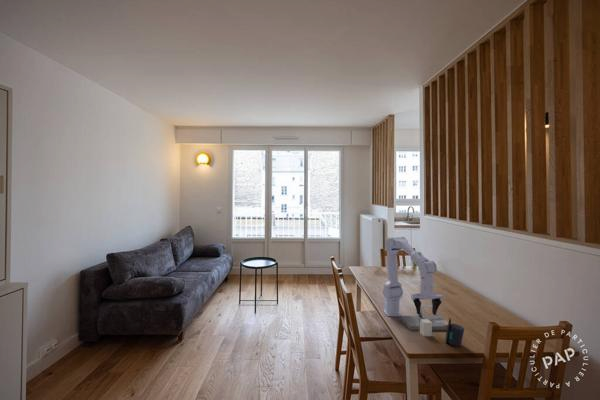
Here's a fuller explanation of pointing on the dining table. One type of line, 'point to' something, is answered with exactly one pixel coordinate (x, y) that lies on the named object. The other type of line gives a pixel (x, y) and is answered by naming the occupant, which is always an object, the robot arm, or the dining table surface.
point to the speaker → (454, 334)
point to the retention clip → (424, 307)
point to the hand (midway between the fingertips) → (426, 314)
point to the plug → (425, 327)
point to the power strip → (414, 321)
